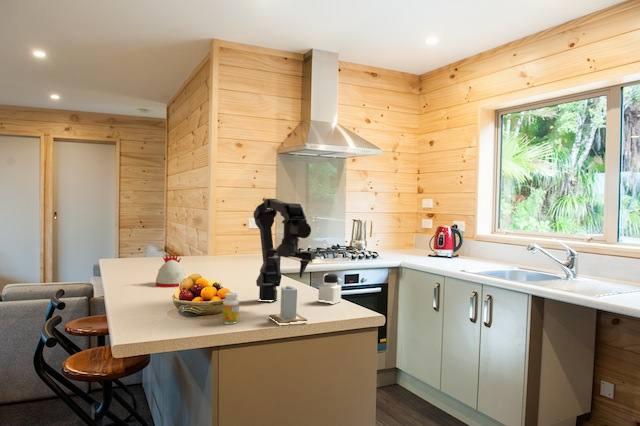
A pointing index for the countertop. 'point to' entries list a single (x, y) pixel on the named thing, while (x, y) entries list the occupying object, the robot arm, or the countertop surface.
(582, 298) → the countertop surface
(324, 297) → the medicine bottle
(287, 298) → the pillar
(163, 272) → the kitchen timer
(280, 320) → the pedestal
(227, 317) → the supplement bottle
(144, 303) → the countertop surface
